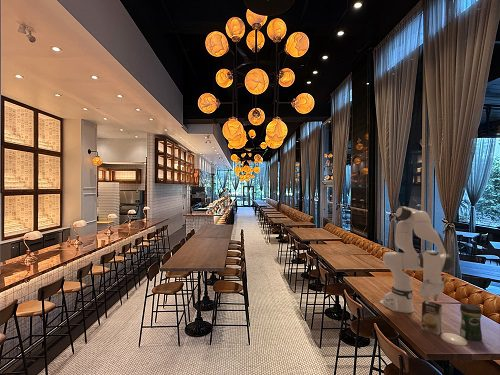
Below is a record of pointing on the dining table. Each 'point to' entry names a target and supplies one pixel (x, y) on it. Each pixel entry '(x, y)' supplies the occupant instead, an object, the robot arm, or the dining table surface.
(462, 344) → the cream glossy domed part
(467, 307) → the coffee jar
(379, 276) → the dining table surface
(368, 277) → the dining table surface
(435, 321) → the coffee box
